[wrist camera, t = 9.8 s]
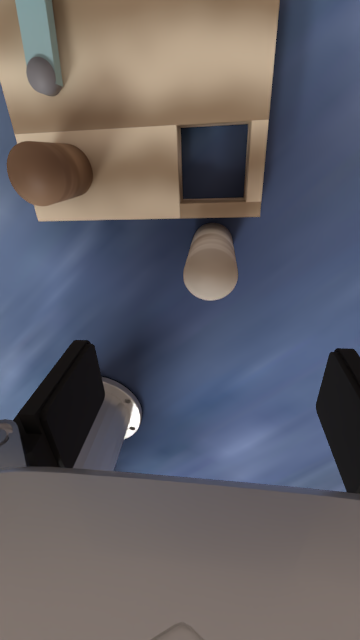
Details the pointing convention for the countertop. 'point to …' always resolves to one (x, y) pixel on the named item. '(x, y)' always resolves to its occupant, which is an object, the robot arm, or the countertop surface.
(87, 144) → the wooden board with pegs
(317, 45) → the countertop surface
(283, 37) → the countertop surface
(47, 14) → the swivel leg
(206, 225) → the loose leg
